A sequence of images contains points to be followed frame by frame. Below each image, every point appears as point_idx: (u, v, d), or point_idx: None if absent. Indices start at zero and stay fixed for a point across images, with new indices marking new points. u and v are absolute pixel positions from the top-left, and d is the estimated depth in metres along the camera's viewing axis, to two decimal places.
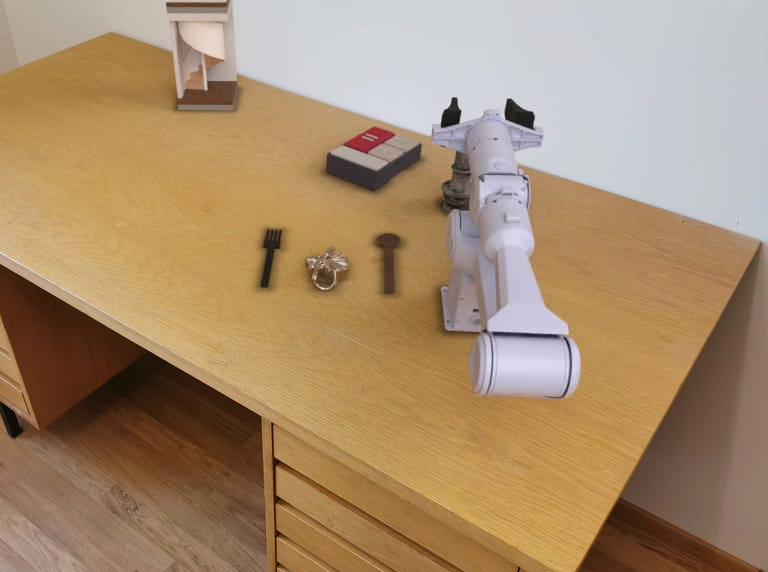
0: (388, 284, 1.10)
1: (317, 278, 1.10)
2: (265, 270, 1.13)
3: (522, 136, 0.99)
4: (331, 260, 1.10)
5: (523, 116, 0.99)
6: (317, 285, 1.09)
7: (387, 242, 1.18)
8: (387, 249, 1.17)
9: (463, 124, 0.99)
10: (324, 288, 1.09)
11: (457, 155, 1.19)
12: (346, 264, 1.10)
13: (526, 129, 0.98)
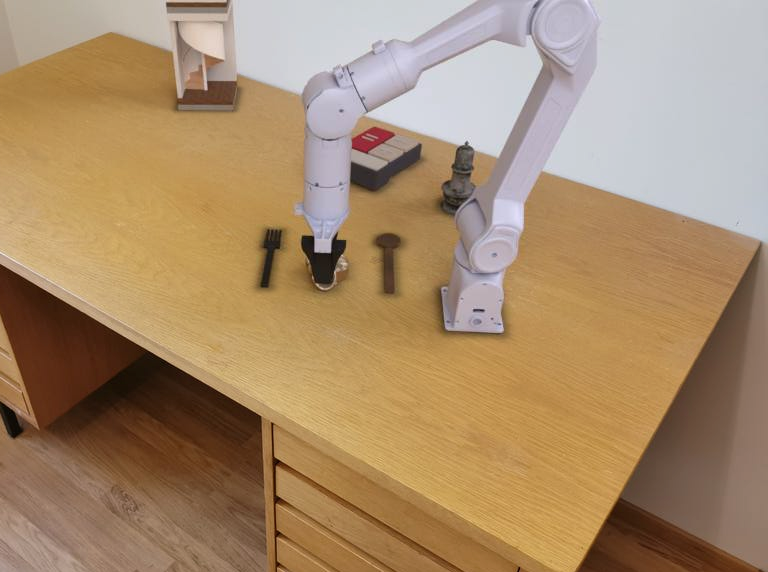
0: (388, 284, 1.10)
1: None
2: (265, 270, 1.13)
3: None
4: None
5: None
6: (317, 285, 1.09)
7: (387, 242, 1.18)
8: (387, 249, 1.17)
9: (308, 223, 0.92)
10: (324, 288, 1.09)
11: (457, 155, 1.19)
12: (346, 264, 1.10)
13: None
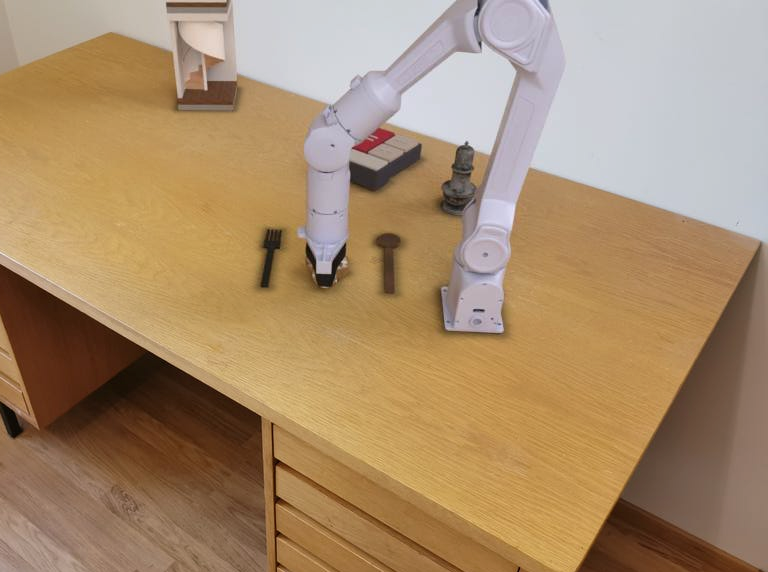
0: (388, 284, 1.10)
1: None
2: (265, 270, 1.13)
3: None
4: None
5: None
6: None
7: (387, 242, 1.18)
8: (387, 249, 1.17)
9: (310, 246, 1.00)
10: None
11: (457, 155, 1.19)
12: (346, 262, 1.10)
13: None
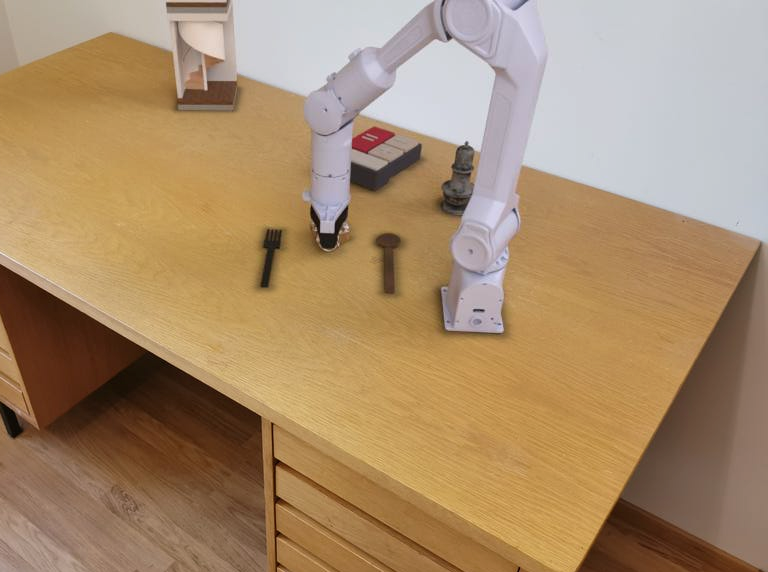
0: (388, 284, 1.10)
1: None
2: (265, 270, 1.13)
3: None
4: None
5: None
6: None
7: (387, 242, 1.18)
8: (387, 249, 1.17)
9: (315, 208, 1.07)
10: (327, 249, 1.16)
11: (457, 155, 1.19)
12: (348, 227, 1.17)
13: None
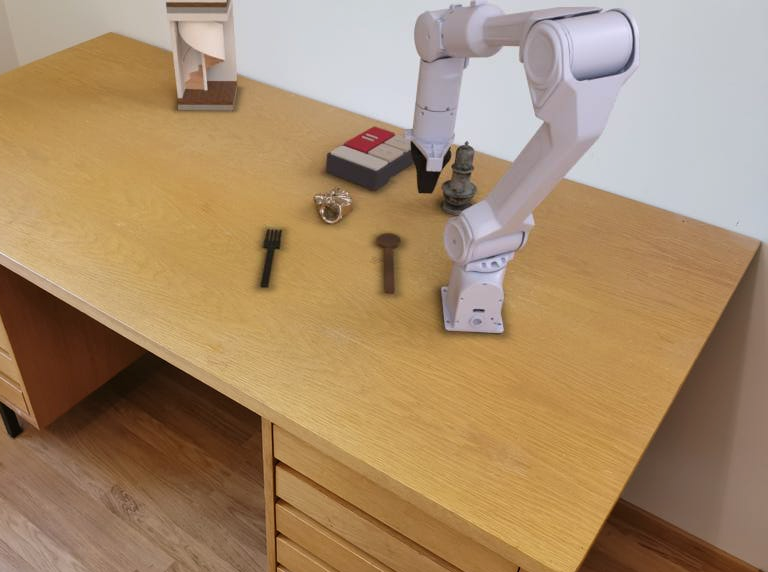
0: (388, 284, 1.10)
1: (324, 212, 1.23)
2: (265, 270, 1.13)
3: None
4: (337, 197, 1.23)
5: (415, 144, 1.06)
6: (324, 218, 1.22)
7: (387, 242, 1.18)
8: (387, 249, 1.17)
9: (419, 145, 1.02)
10: (330, 221, 1.22)
11: (457, 155, 1.19)
12: (350, 200, 1.23)
13: None
